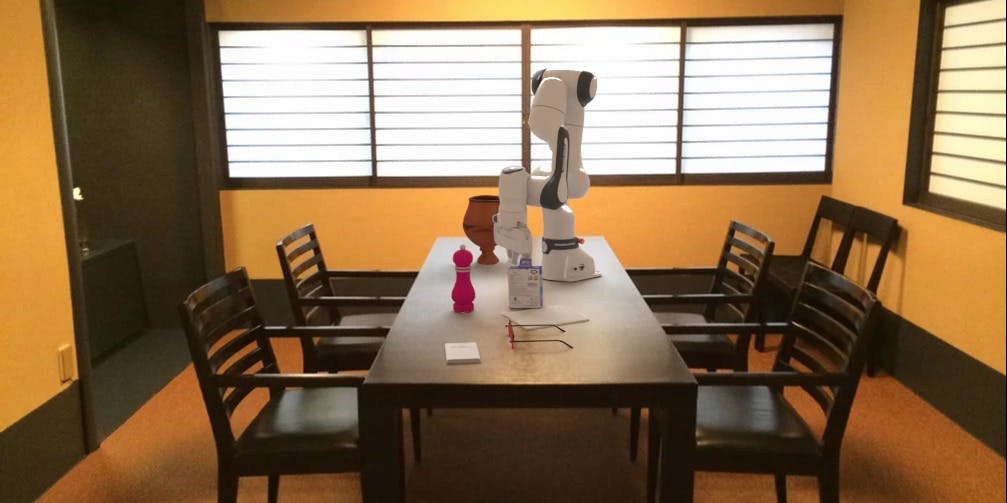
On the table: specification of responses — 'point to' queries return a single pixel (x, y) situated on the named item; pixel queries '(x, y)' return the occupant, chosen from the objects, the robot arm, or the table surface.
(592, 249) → the table surface
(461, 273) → the pepper mill
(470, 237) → the goblet
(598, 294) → the table surface
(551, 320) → the felt mat
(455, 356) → the external hard drive
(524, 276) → the ink cartridge box
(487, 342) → the table surface
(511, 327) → the glasses
